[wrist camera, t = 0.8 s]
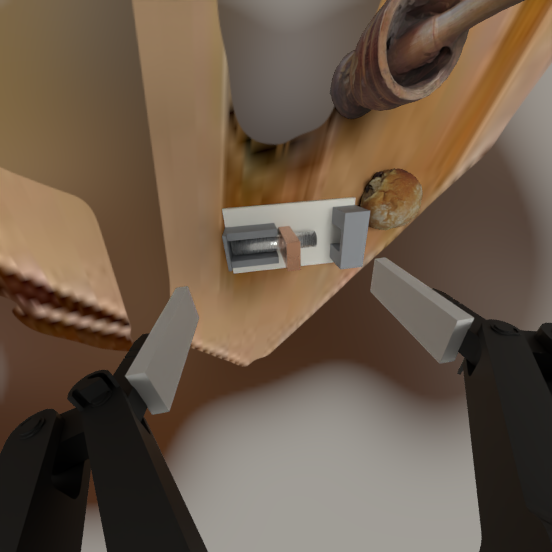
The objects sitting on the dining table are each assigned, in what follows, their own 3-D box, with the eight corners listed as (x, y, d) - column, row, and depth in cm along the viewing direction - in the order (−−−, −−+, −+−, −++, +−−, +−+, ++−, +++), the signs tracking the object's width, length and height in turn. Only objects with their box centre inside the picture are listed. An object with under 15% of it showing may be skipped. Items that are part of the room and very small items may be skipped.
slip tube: (231, 231, 36) (227, 249, 28) (311, 223, 37) (328, 239, 30) (235, 254, 38) (232, 277, 31) (311, 246, 39) (327, 266, 32)
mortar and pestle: (384, 1, 26) (664, -332, 9) (414, 69, 30) (655, -69, 12) (315, 84, 29) (417, -37, 12) (350, 137, 33) (468, 105, 15)
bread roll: (352, 221, 43) (372, 248, 38) (353, 176, 35) (380, 203, 30) (398, 203, 42) (425, 227, 38) (411, 152, 34) (447, 175, 29)
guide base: (222, 208, 35) (217, 216, 30) (352, 196, 37) (371, 202, 31) (234, 271, 41) (231, 287, 35) (346, 258, 43) (361, 272, 37)
